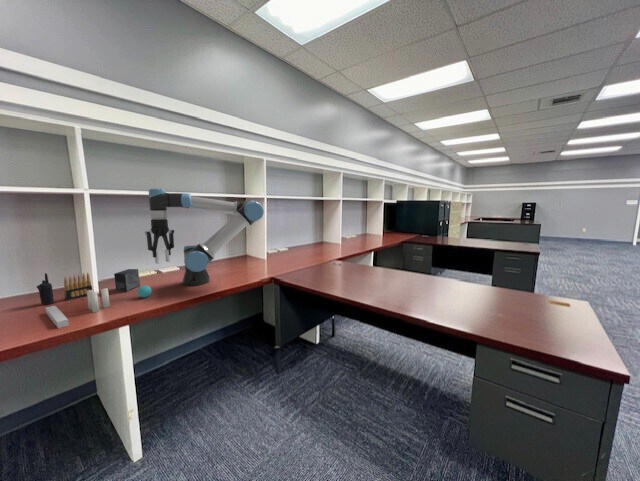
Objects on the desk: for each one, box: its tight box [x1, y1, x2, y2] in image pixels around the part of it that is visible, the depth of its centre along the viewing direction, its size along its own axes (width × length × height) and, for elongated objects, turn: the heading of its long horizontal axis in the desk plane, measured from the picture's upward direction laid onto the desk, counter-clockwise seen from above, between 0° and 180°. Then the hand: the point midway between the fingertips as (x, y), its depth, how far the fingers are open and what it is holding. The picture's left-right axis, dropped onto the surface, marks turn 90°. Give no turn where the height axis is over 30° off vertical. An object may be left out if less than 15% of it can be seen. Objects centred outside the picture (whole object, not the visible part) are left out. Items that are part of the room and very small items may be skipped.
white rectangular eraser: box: [45, 305, 69, 329], centre depth 108 cm, size 3×24×2 cm, turn 54°
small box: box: [113, 268, 141, 293], centre depth 147 cm, size 11×6×10 cm, turn 178°
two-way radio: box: [36, 272, 55, 305], centre depth 124 cm, size 6×4×15 cm
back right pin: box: [86, 289, 95, 311], centre depth 119 cm, size 2×2×8 cm
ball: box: [137, 285, 152, 299], centre depth 134 cm, size 6×6×6 cm
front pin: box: [100, 287, 111, 309], centre depth 121 cm, size 2×2×8 cm
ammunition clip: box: [63, 272, 93, 302], centre depth 133 cm, size 11×2×12 cm, turn 152°
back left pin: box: [90, 291, 100, 313], centre depth 116 cm, size 2×2×8 cm
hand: (162, 262), depth 140 cm, fingers open, 4 cm apart
